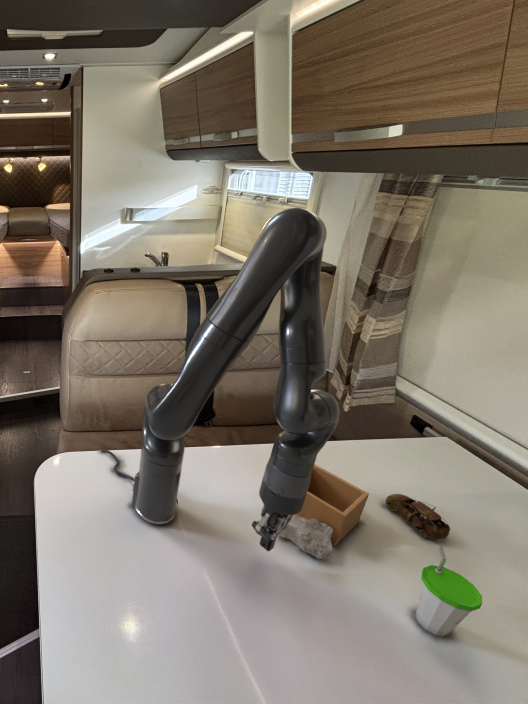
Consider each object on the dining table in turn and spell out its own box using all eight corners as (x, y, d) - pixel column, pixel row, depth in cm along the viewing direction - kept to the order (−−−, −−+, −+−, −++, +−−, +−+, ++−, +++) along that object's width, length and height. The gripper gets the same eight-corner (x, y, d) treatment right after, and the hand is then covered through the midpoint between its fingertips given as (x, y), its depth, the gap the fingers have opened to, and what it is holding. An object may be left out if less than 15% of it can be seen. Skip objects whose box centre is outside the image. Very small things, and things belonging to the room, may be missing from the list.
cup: (465, 656, 73) (501, 597, 67) (407, 631, 77) (436, 573, 71) (454, 616, 79) (486, 559, 74) (400, 595, 83) (427, 539, 77)
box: (334, 545, 93) (345, 516, 90) (273, 505, 104) (281, 477, 101) (358, 522, 99) (369, 493, 96) (298, 486, 110) (306, 459, 107)
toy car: (454, 539, 95) (462, 523, 93) (428, 544, 94) (436, 528, 92) (401, 498, 106) (408, 483, 104) (378, 502, 105) (384, 487, 103)
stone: (331, 567, 89) (338, 547, 86) (277, 549, 93) (282, 529, 91) (327, 538, 95) (333, 518, 93) (277, 522, 99) (282, 503, 97)
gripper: (284, 459, 89) (266, 521, 95) (246, 483, 82) (230, 548, 89) (322, 481, 83) (301, 545, 89) (285, 509, 76) (265, 576, 83)
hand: (266, 546), depth 89 cm, fingers closed
